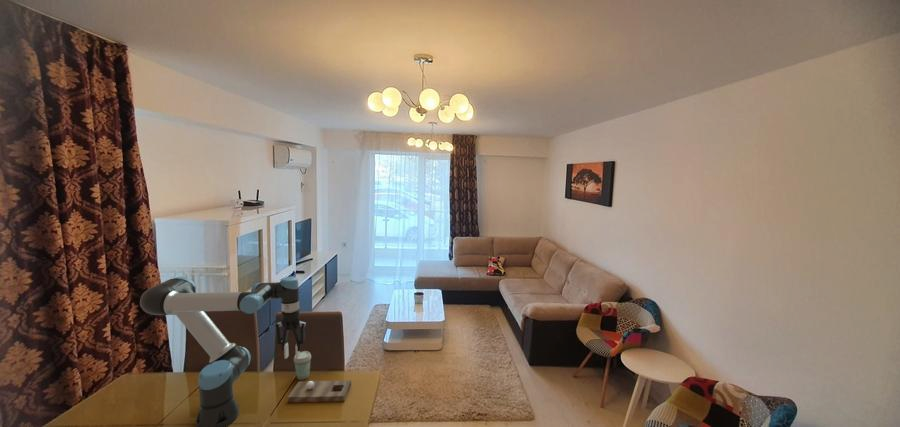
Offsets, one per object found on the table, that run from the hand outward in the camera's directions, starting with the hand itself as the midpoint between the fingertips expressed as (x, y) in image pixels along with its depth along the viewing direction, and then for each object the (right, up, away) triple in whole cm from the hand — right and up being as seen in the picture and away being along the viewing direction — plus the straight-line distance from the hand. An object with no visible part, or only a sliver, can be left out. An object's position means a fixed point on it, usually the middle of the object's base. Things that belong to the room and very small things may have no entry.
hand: (292, 357), depth 156 cm
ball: (+8, -14, +2) cm, 16 cm away
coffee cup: (-2, -17, +16) cm, 24 cm away
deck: (+13, -19, +2) cm, 23 cm away
